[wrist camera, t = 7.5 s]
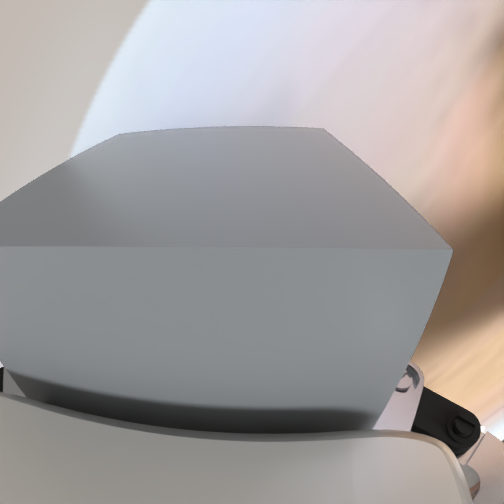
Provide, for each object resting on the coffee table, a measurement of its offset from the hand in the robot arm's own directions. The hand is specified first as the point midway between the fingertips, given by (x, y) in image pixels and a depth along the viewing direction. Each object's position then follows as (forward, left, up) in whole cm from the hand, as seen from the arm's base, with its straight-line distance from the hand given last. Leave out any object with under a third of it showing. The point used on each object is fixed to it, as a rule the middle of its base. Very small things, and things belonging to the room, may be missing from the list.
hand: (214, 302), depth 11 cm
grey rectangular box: (0, 0, -3) cm, 3 cm away
